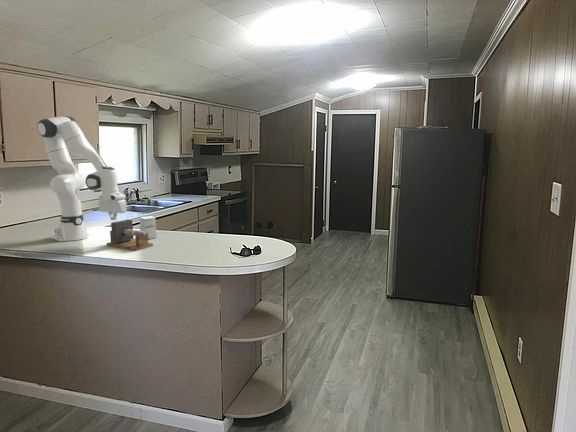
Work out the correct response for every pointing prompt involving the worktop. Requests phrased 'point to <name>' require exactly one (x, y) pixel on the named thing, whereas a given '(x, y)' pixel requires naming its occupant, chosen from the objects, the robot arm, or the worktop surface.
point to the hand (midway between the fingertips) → (113, 220)
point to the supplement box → (148, 226)
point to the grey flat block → (117, 231)
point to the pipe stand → (131, 244)
